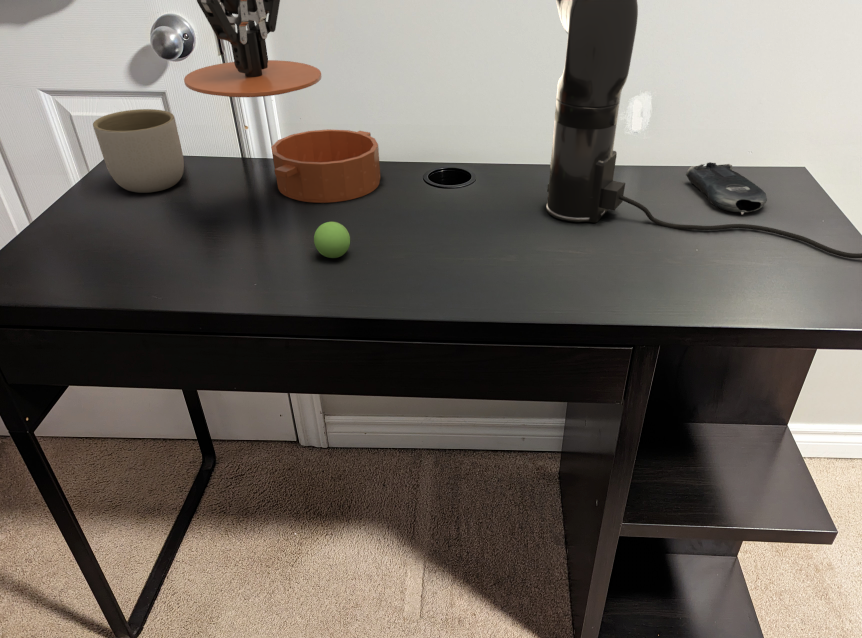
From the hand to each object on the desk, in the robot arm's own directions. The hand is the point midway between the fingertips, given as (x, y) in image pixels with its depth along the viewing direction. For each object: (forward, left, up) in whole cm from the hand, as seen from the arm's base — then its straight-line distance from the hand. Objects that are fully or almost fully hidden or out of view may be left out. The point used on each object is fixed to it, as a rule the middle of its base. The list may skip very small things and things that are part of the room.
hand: (253, 69), depth 95 cm
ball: (-17, +7, -19) cm, 26 cm away
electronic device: (-61, -43, -22) cm, 77 cm away
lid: (0, 0, -1) cm, 1 cm away
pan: (+1, -15, -21) cm, 26 cm away
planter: (+27, +1, -22) cm, 35 cm away
